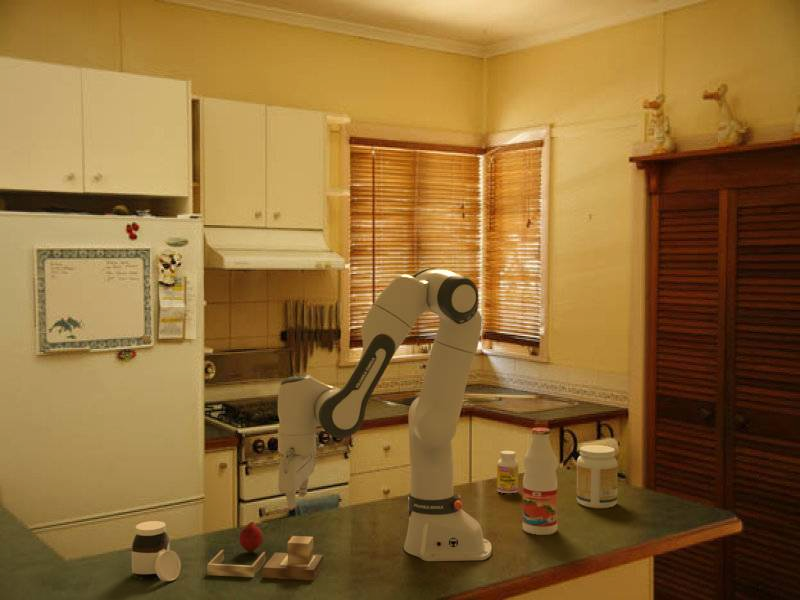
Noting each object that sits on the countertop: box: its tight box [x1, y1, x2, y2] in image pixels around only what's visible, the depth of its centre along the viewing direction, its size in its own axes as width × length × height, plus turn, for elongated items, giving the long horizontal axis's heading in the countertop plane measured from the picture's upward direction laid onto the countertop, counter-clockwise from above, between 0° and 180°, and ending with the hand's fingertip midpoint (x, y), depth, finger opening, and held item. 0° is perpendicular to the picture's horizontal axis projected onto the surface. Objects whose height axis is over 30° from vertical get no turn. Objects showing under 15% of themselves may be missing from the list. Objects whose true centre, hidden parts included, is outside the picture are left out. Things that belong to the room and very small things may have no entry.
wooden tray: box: [206, 549, 324, 582], centre depth 202 cm, size 26×10×3 cm, turn 82°
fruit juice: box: [522, 427, 559, 536], centre depth 232 cm, size 9×9×28 cm
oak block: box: [287, 535, 314, 565], centre depth 201 cm, size 5×5×5 cm
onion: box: [238, 520, 264, 553], centre depth 214 cm, size 6×6×8 cm
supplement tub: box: [576, 444, 619, 509], centre depth 257 cm, size 12×12×17 cm
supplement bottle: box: [496, 450, 519, 494], centre depth 270 cm, size 7×7×13 cm
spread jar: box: [131, 520, 182, 582], centre depth 198 cm, size 12×11×12 cm
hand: (297, 501), depth 201 cm, fingers open, 8 cm apart
